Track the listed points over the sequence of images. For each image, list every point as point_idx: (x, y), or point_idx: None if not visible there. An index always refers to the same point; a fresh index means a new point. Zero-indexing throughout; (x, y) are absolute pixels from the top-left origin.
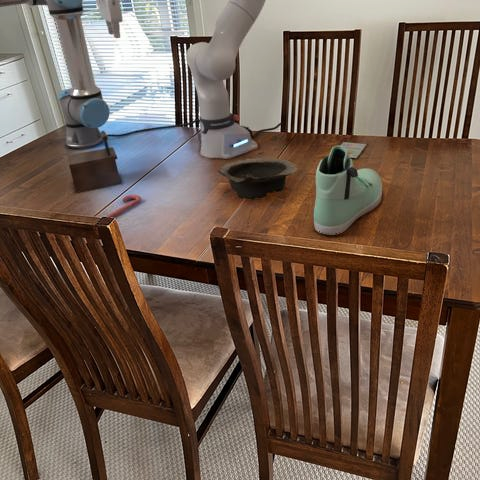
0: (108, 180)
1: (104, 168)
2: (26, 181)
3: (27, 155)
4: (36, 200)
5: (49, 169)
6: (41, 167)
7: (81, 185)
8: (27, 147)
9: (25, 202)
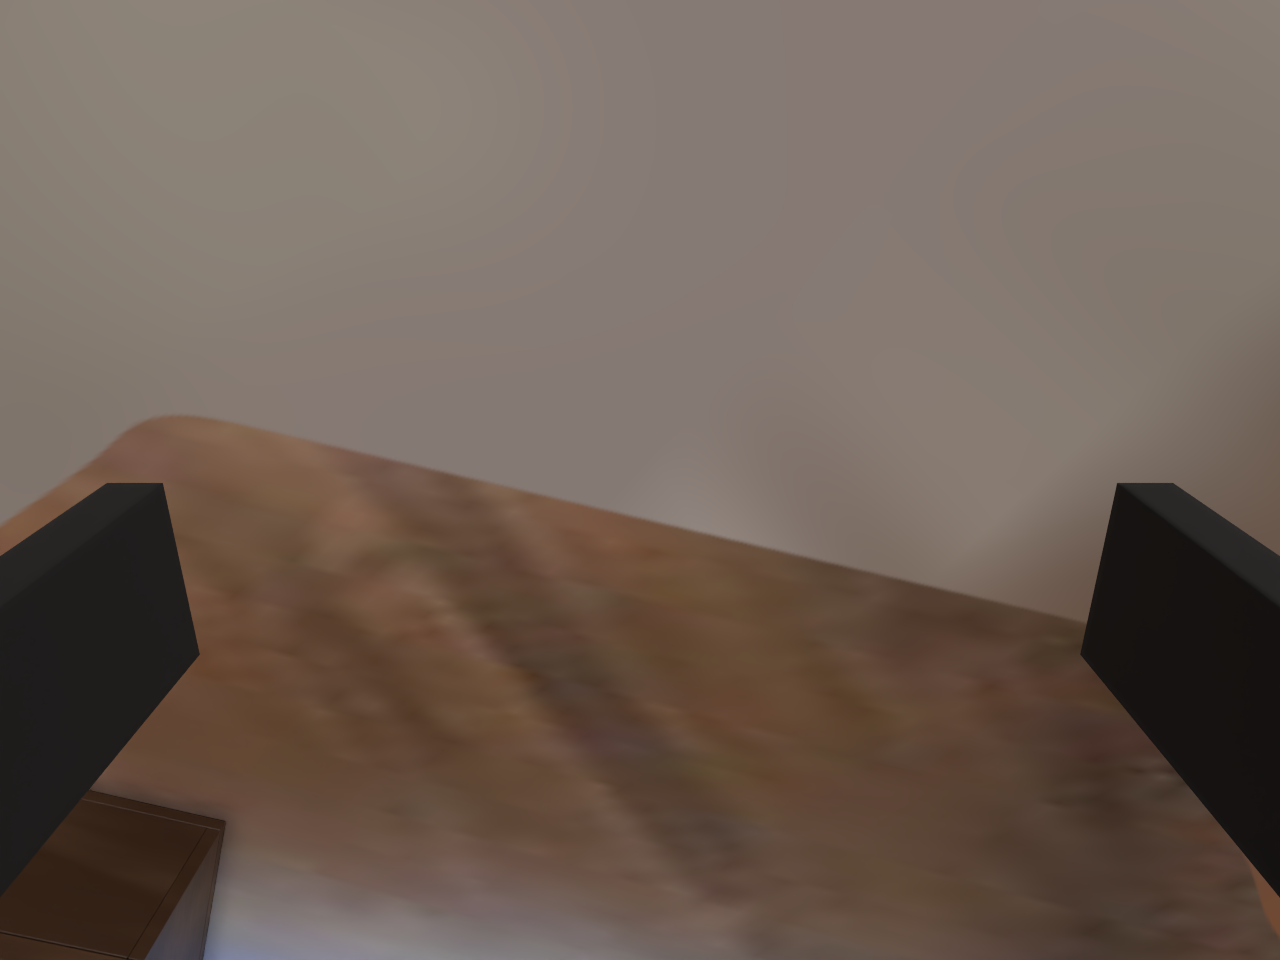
0: None
1: None
2: (473, 620)
3: (1005, 761)
4: None
5: (579, 784)
6: (664, 760)
7: None
8: (1184, 806)
9: None
